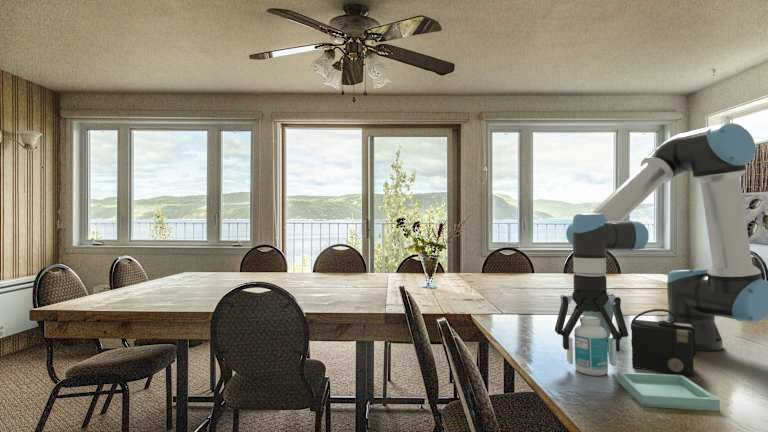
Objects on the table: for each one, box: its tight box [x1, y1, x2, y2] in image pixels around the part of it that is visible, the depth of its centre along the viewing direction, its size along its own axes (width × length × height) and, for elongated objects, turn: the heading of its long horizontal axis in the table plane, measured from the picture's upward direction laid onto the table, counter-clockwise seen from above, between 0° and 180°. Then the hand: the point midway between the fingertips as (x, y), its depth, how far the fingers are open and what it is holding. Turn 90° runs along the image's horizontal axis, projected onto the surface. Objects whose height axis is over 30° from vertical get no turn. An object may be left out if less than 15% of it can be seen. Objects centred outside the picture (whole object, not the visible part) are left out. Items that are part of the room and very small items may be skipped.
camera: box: [630, 308, 697, 377], centre depth 109 cm, size 11×14×15 cm
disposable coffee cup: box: [582, 291, 615, 341], centre depth 138 cm, size 11×11×15 cm
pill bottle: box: [573, 315, 609, 377], centre depth 106 cm, size 8×7×14 cm
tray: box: [616, 371, 721, 412], centre depth 91 cm, size 14×14×2 cm
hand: (591, 363), depth 106 cm, fingers open, 9 cm apart
